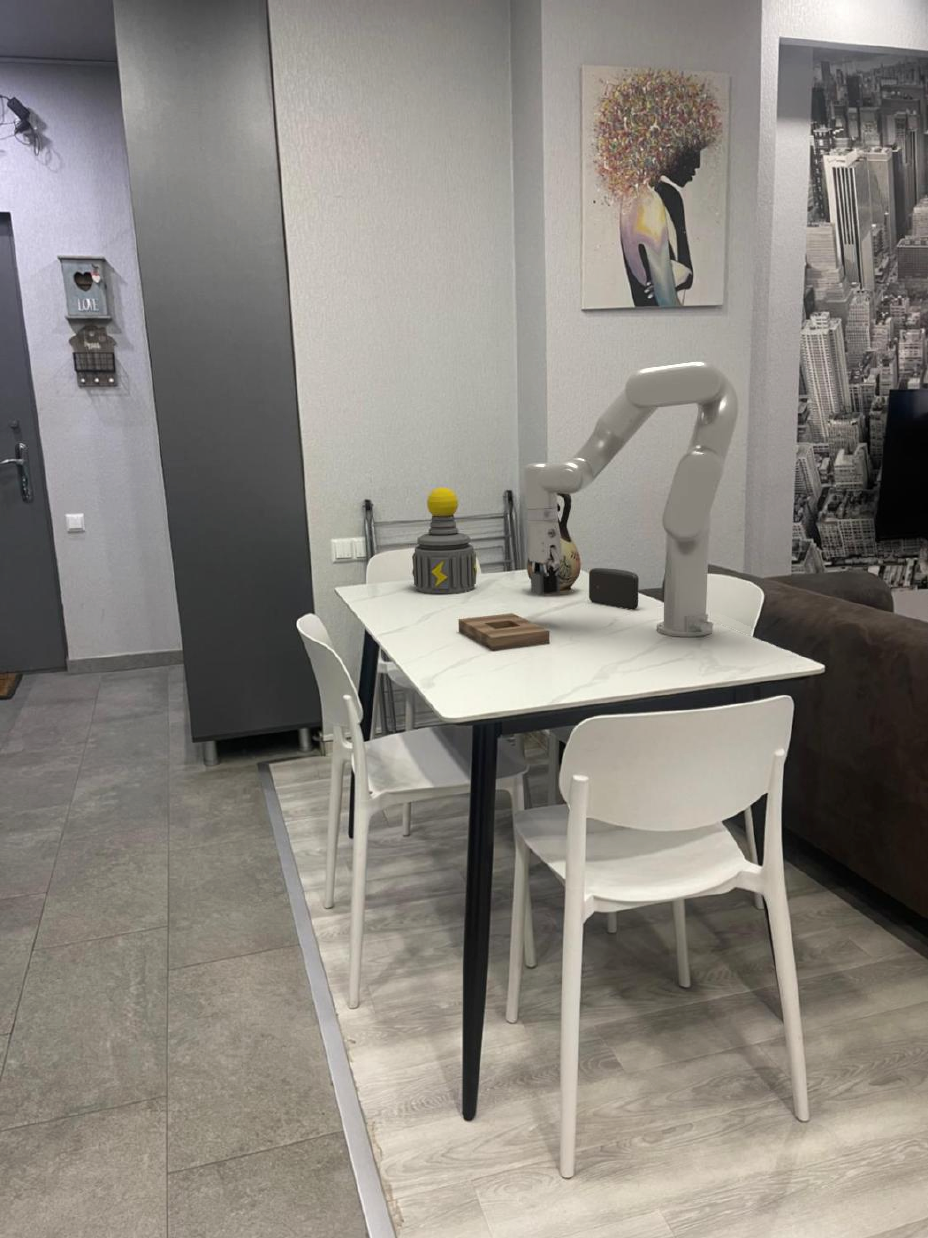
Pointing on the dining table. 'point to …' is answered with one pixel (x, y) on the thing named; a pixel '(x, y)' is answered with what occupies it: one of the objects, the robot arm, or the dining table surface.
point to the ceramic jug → (565, 552)
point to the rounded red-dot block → (614, 587)
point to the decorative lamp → (444, 550)
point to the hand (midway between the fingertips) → (545, 589)
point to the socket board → (504, 631)
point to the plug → (541, 582)
